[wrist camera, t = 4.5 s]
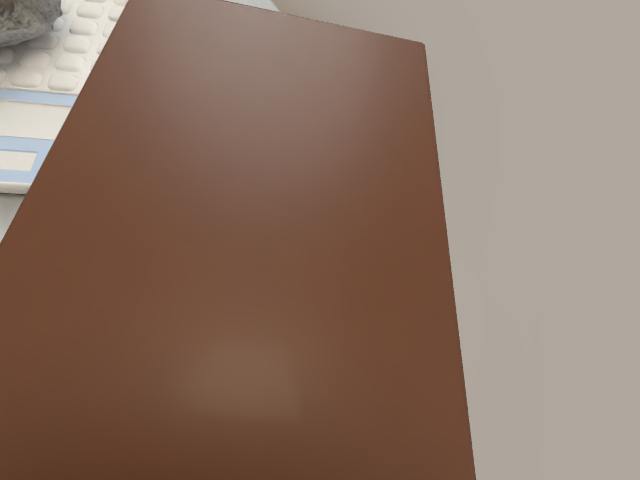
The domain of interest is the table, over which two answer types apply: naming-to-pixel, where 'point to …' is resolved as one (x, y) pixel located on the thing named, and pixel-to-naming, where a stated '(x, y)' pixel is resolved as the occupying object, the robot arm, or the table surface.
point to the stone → (26, 19)
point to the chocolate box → (235, 263)
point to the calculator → (47, 85)
